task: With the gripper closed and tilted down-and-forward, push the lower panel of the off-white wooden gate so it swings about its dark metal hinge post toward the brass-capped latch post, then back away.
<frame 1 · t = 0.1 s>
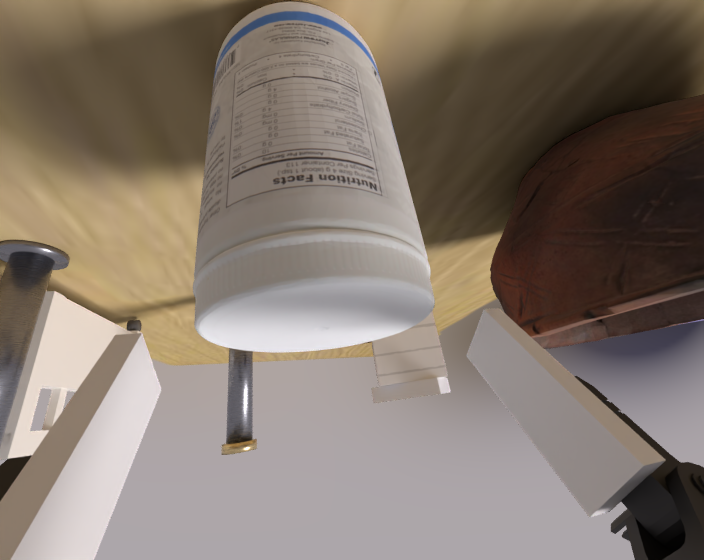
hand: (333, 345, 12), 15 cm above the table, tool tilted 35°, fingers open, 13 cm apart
hinge post: (34, 253, 29), on the table
supplement tub: (300, 89, 18), on the table
pizza boxes: (397, 326, 81), on the table
bowl: (599, 155, 27), on the table
gate: (90, 368, 36), point 9 cm above the table, hinge at 0.0°
latch post: (241, 291, 44), on the table
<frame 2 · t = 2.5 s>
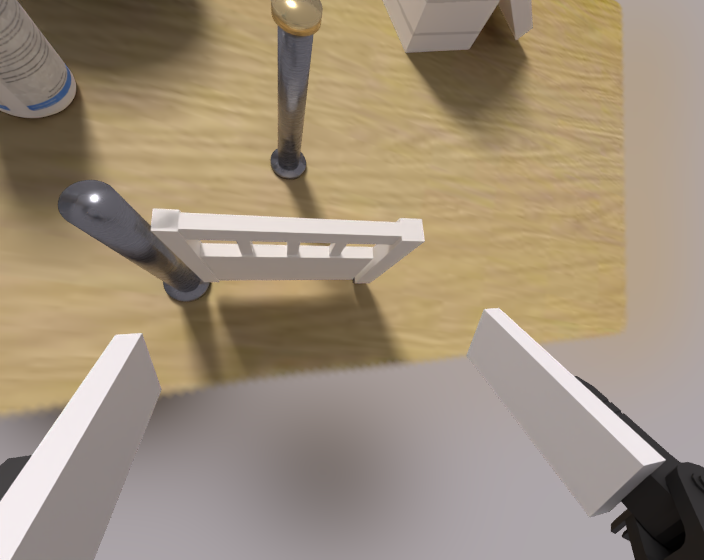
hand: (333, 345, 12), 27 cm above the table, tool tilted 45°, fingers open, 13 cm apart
hinge post: (188, 281, 36), on the table
supplement tub: (35, 91, 37), on the table
pizza boxes: (446, 19, 59), on the table
gate: (295, 260, 30), point 9 cm above the table, hinge at 0.0°
latch post: (288, 164, 43), on the table
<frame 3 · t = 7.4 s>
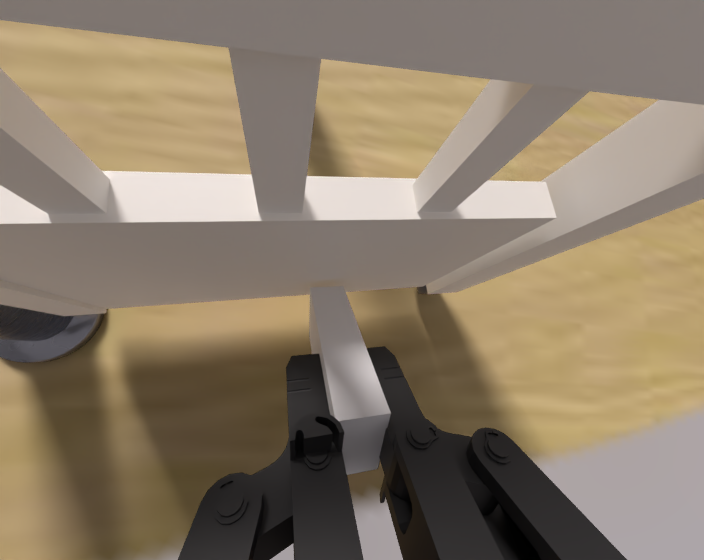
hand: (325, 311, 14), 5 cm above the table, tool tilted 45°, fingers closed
hinge post: (49, 312, 15), on the table
gate: (296, 240, 10), point 9 cm above the table, hinge at 1.0°, touching gripper
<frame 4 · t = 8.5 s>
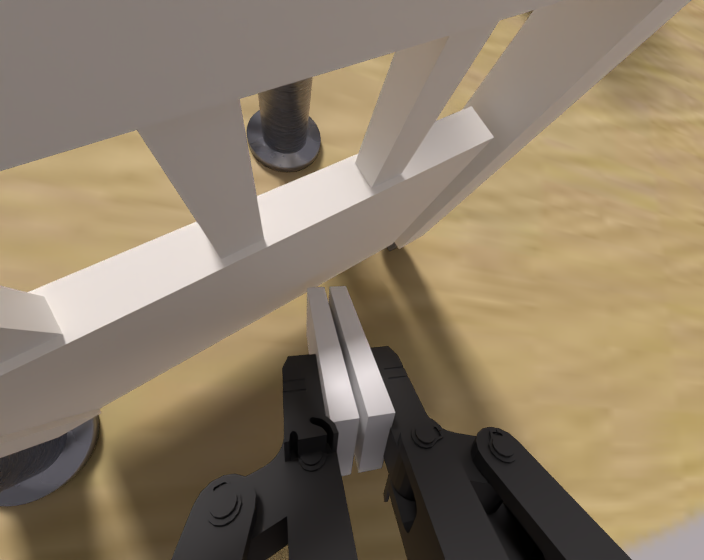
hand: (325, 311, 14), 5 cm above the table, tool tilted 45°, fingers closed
hinge post: (38, 439, 14), on the table
gate: (263, 261, 9), point 9 cm above the table, hinge at 27.0°, touching gripper
latch post: (284, 141, 21), on the table
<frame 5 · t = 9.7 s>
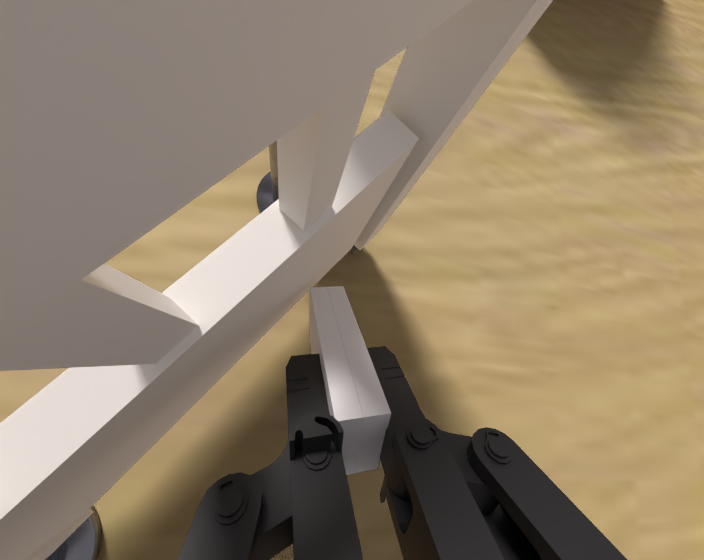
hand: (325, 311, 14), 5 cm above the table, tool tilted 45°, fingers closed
hinge post: (35, 553, 13), on the table
gate: (214, 325, 9), point 9 cm above the table, hinge at 42.6°, touching gripper
latch post: (295, 202, 20), on the table
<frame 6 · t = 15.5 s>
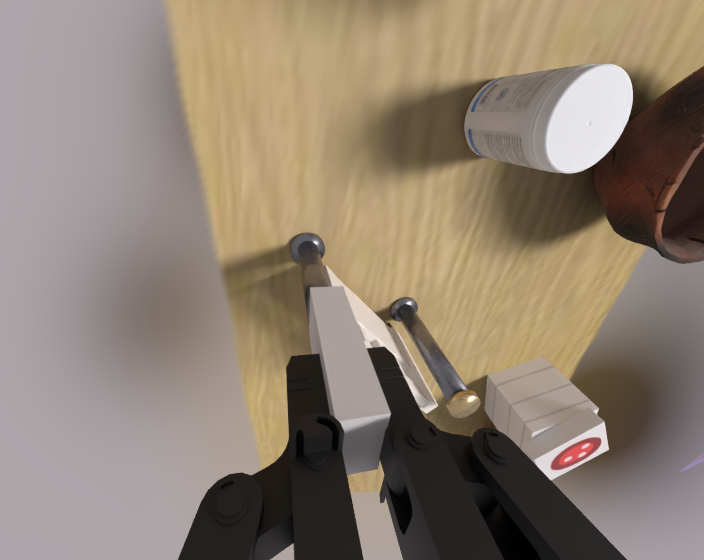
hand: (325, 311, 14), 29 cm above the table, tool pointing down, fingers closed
hinge post: (307, 248, 44), on the table
supplement tub: (492, 118, 40), on the table
pizza boxes: (510, 396, 78), on the table
bowl: (628, 154, 48), on the table
gate: (373, 331, 42), point 9 cm above the table, hinge at 43.7°
latch post: (403, 308, 54), on the table
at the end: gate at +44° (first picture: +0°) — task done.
